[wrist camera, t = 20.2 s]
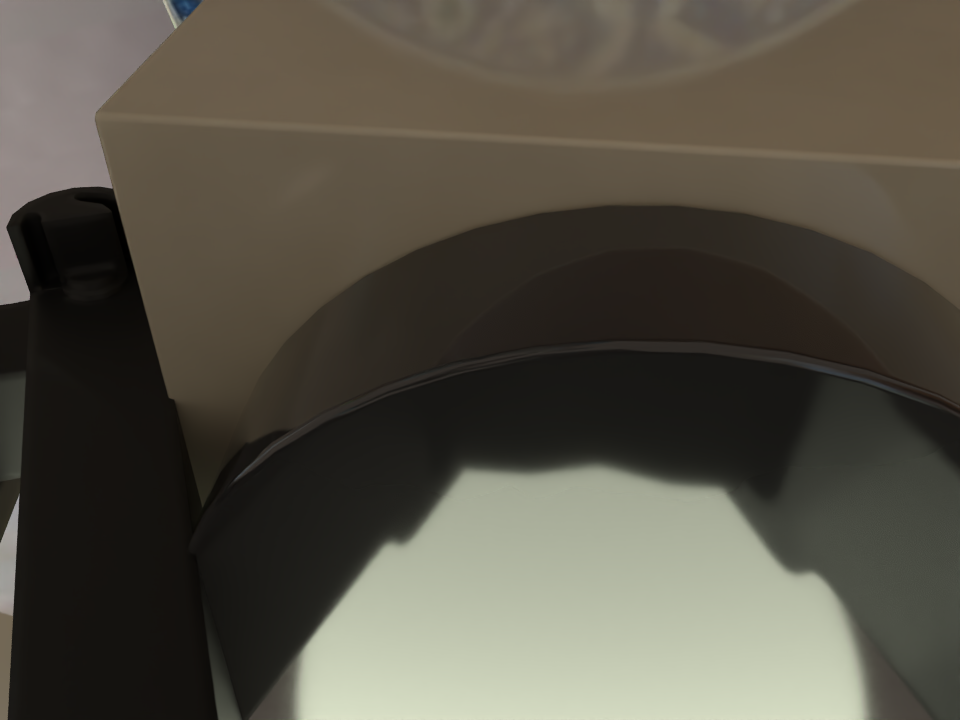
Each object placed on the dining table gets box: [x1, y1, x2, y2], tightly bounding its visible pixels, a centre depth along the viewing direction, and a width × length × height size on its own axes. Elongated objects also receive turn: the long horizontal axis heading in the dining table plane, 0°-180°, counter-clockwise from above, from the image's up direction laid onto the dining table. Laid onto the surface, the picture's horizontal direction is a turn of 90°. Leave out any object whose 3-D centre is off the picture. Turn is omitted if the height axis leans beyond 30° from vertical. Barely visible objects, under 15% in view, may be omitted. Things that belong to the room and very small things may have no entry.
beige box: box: [95, 0, 960, 720], centre depth 13 cm, size 15×8×15 cm
